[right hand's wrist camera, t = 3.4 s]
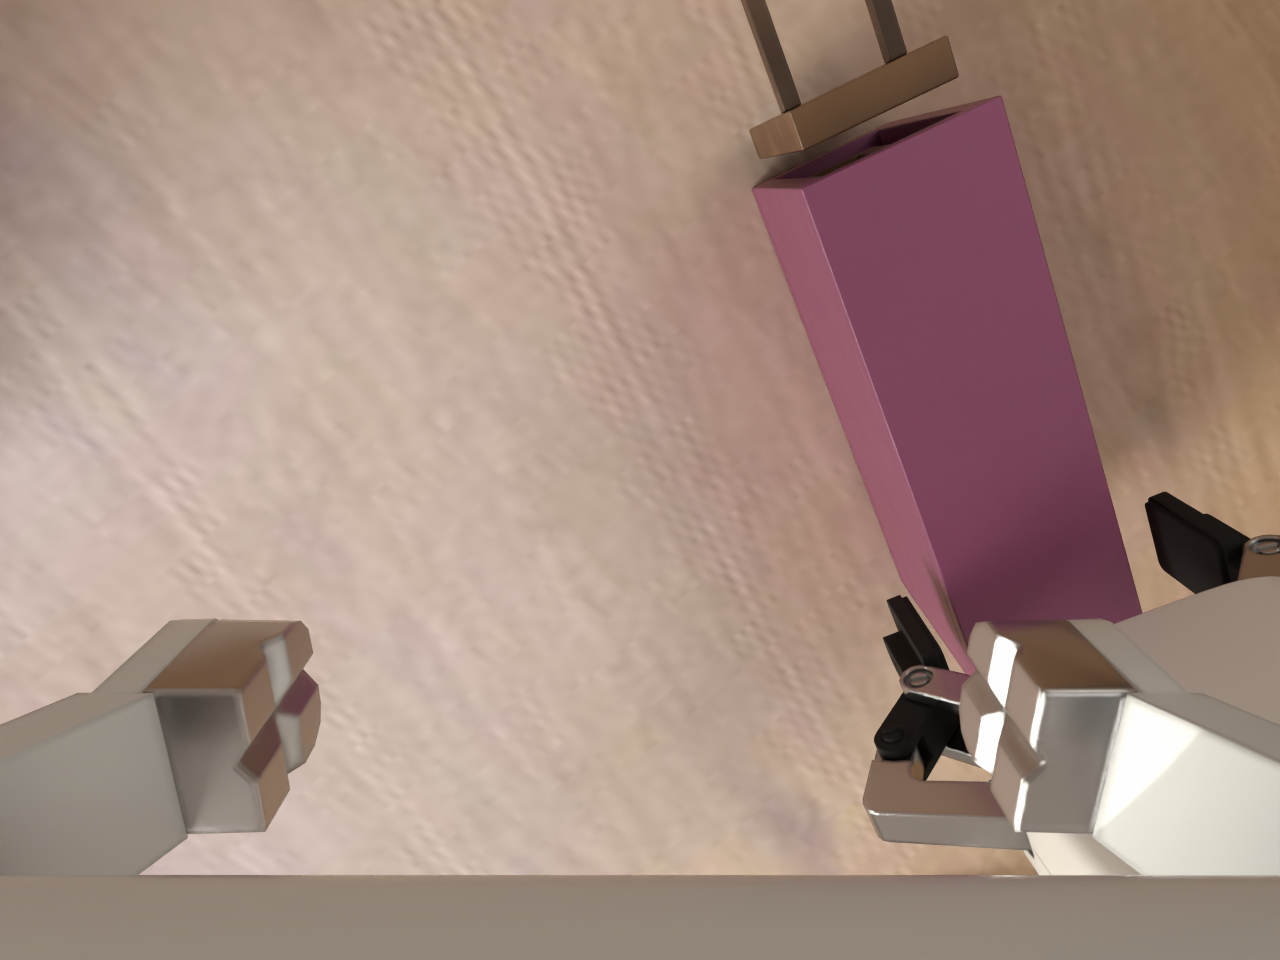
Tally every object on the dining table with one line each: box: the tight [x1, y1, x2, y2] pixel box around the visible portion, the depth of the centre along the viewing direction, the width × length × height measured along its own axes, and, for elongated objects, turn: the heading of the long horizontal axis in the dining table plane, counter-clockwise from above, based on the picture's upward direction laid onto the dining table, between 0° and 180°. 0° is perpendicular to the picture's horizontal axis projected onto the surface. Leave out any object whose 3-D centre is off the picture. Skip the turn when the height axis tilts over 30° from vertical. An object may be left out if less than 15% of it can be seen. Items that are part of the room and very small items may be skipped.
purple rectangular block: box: [752, 96, 1142, 675], centre depth 32 cm, size 20×6×10 cm, turn 24°
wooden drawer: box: [741, 0, 958, 178], centre depth 30 cm, size 24×5×8 cm, turn 24°
